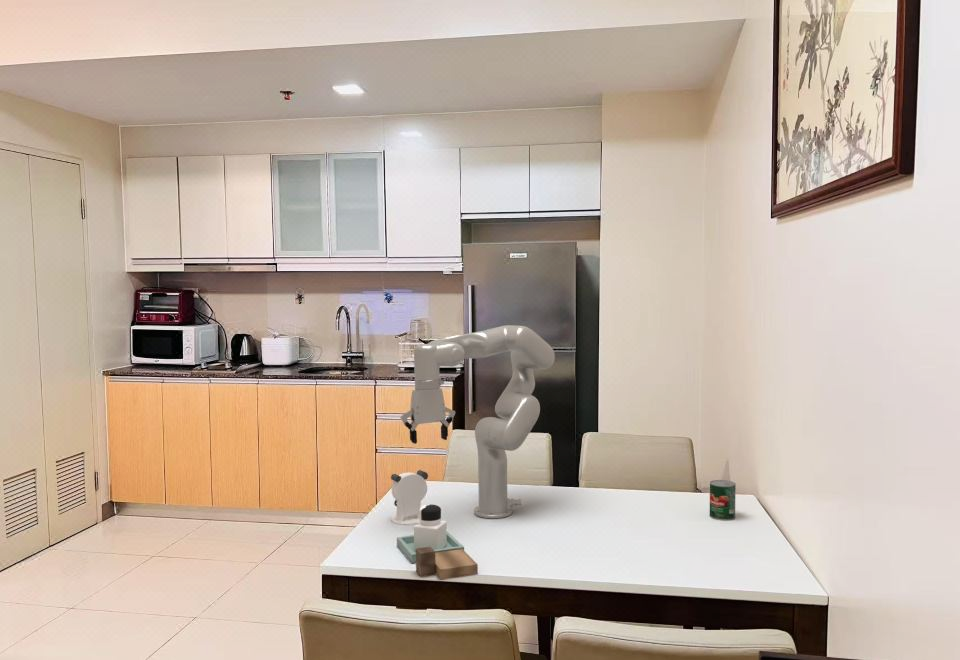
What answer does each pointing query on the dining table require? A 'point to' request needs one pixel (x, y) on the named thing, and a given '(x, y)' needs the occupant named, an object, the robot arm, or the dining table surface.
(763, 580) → the dining table surface
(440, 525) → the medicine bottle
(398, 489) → the panda figurine
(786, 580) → the dining table surface
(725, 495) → the canned tomato
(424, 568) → the dark brown wooden block
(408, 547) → the tray
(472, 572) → the tan wooden block
